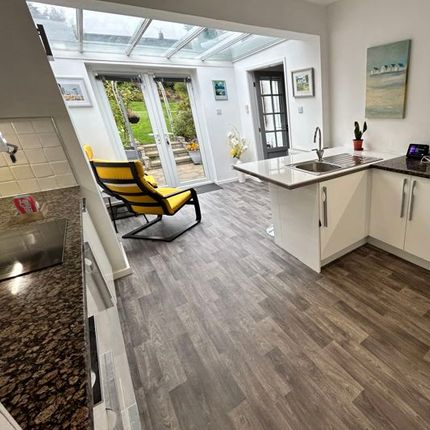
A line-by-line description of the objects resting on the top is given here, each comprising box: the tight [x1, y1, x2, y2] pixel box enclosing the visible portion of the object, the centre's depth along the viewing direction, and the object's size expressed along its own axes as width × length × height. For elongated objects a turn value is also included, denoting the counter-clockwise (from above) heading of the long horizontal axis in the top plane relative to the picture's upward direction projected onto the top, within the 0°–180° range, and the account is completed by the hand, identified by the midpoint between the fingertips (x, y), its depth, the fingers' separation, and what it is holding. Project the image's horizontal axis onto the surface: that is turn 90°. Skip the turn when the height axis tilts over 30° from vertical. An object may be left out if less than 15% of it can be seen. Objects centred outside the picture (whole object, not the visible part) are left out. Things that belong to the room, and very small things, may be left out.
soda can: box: [13, 193, 39, 215], centre depth 134 cm, size 7×7×12 cm
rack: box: [13, 202, 49, 225], centre depth 139 cm, size 10×19×5 cm, turn 41°
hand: (0, 164), depth 134 cm, fingers open, 9 cm apart
